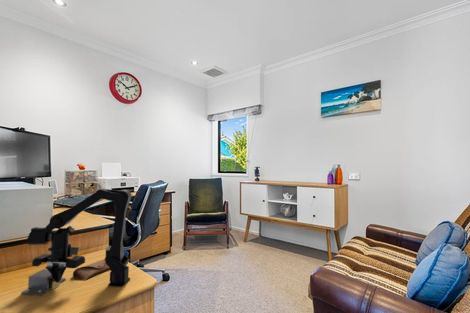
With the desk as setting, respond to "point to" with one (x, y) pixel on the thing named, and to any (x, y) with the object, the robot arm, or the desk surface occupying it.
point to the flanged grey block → (39, 283)
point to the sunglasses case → (91, 270)
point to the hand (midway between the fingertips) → (58, 282)
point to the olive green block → (53, 284)
